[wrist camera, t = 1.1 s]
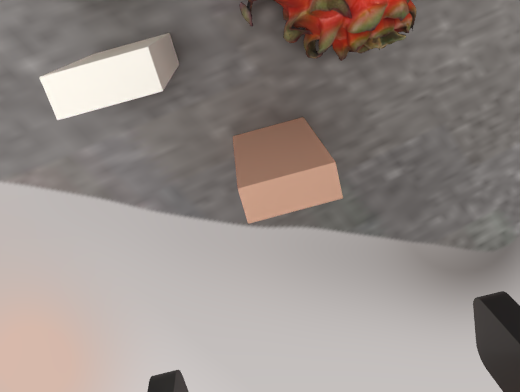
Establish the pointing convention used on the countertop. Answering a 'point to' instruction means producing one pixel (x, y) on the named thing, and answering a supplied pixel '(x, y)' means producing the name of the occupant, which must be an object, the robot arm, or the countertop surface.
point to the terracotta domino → (283, 170)
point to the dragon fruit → (343, 23)
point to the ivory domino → (111, 76)
